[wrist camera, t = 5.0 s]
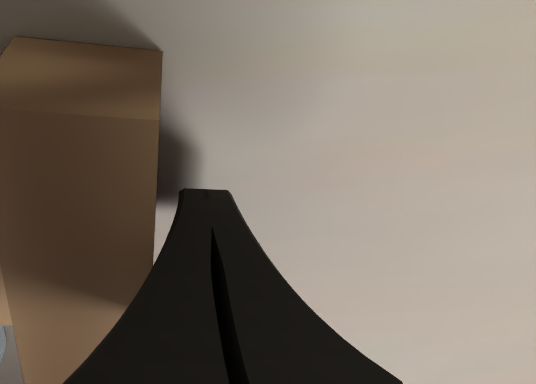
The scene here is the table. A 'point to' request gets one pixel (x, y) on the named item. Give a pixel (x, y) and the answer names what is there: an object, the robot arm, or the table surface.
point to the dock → (2, 342)
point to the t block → (74, 194)
